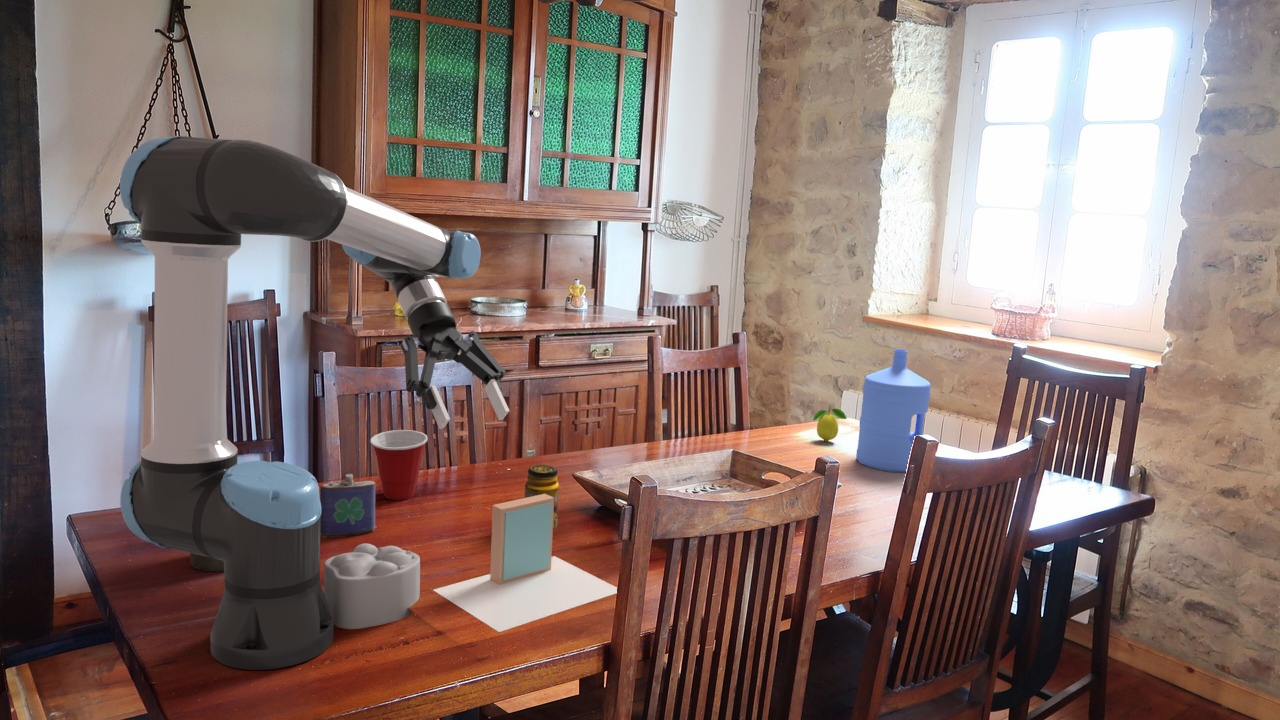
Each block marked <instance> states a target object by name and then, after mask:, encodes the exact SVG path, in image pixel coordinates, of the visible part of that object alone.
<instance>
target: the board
mask: <svg viewBox="0 0 1280 720" xmlns="http://www.w3.org/2000/svg"><path fill="white" fill-rule="evenodd" d="M617 588H618V587H617V586H615V585H612V584H611V583H608V582H607V581H605V580H603V579H601V578H598V577H597V576H595V575H593V574H591V573H589V572H587V571H585V570H582V569H581V568H579V567H577V566H575V565H573V564H571V563H570V562H567V561H565V560H563V559H561V558H559V557H557V556H555V555H553V556H552V557H551V570H548V571H545V572H541V573H538V574H535V575H531V576H528V577H524V578H521V579H517V580H514V581H510V582H507V583H503V584H500V585H499V584H497V583H495V582H494V581H492V580H490V573H488V574H484V575H481V576H478V577H474V578H471V579H467V580H463V581H459V582H456V583H452V584H449V585H445V586H441V587H437V588H434V589H432V591H433V592H435V593H437V594H438V595H439V596H441V597H443V598H445V599H446V600H447V601H449V602H450V603H452V604H454V605H456V606H457V607H458V608H460V609H462V610H464V612H467V613H468V614H470V615H471V616H472V617H475V618H476V619H477V620H479V621H481V622H482V623H484V624H485V625H487V626H489V627H490V628H491V629H493V630H494V631H496V632H498V633H502V632H505V631H508V630H510V629H513V628H517V627H520V626H522V625H525V624H529V623H532V622H535V621H537V620H541V619H543V618H546V617H547V618H548V617H550V616H553V615H556V614H559V613H561V612H565V611H569V610H570V609H574V608H577V607H579V606H580V607H581V606H583V605H585V604H588V603H592V602H595V601H598V600H601V599H604V598H608V597H610V596H613V595H616V594H618V593H617Z"/></svg>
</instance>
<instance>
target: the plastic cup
mask: <svg viewBox="0 0 1280 720" xmlns="http://www.w3.org/2000/svg"><path fill="white" fill-rule="evenodd" d="M427 442H428V435H427V434H425V433H424V432H422V431H417V430H412V429H411V430H409V429H395V430H387V431H382V432H380V433H378V434H374V435H373V436H372V437H371V438H370V444H371V446H373V449H374V450H373V451H374V452H375V455H376V458H377V466H378V470H379V479H380V481H381V487H382V494H383V497H384V496H385V497H386V498H385V497H384V498H385V499H387V498H388V500H391V499H392V500H393V501H404V500H409V499H412V498H413V497H414V495H415V493H416V489H417V482H418V480H419V476H420V475H419V474H420V470H421V469H420V467H421V463H422V457H423V454H424V450H425V446H426V444H427Z"/></svg>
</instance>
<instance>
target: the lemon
mask: <svg viewBox="0 0 1280 720" xmlns="http://www.w3.org/2000/svg"><path fill="white" fill-rule="evenodd" d="M831 411H832V413H833V414H831ZM836 417H837V418H838V419H841V420H846V419H848V418H847V415H846V414H845V412H844V411H843V410H842V409H839V408H832V407H831V405H830V404H828V410H819V411H818V412H817V413H815V415H814V416H813V419H812V421H817V420H818V422H817V424H816V434H817V436H818V437H819V438H820V439H822V440H823V441H824V442H826V443H827V442H829V441H830V440H833V439H835V438H836V437H837V436H838V433H839V422H838V419H837V418H836Z"/></svg>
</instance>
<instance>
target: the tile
mask: <svg viewBox="0 0 1280 720" xmlns="http://www.w3.org/2000/svg"><path fill="white" fill-rule="evenodd" d="M491 511H492V513H491V514H492V517H491V540H490V542H491V543H490V544H491V545H490V547H491V548H490V568H489V569H490V570H489V571H490V572H489V574H490V580H492V581H494V582H495V583H497V584H499V585H500V584H503V583H507V582H510V581H514V580H517V579H521V578H524V577H528V576H531V575H535V574H538V573H541V572H545V571H548V570H551V557H553V556H552V553H553V552H552V551H553V536H554V535H553V534H554V533H553V531H554V530H553V514H554V497H551V496H549V495H547V494H541V495H537V496H532V497H527V498H525V497H524V498H518V499H515V500H510V501H506V502H502V503H501V502H500V503H496V504H492V510H491Z"/></svg>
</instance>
